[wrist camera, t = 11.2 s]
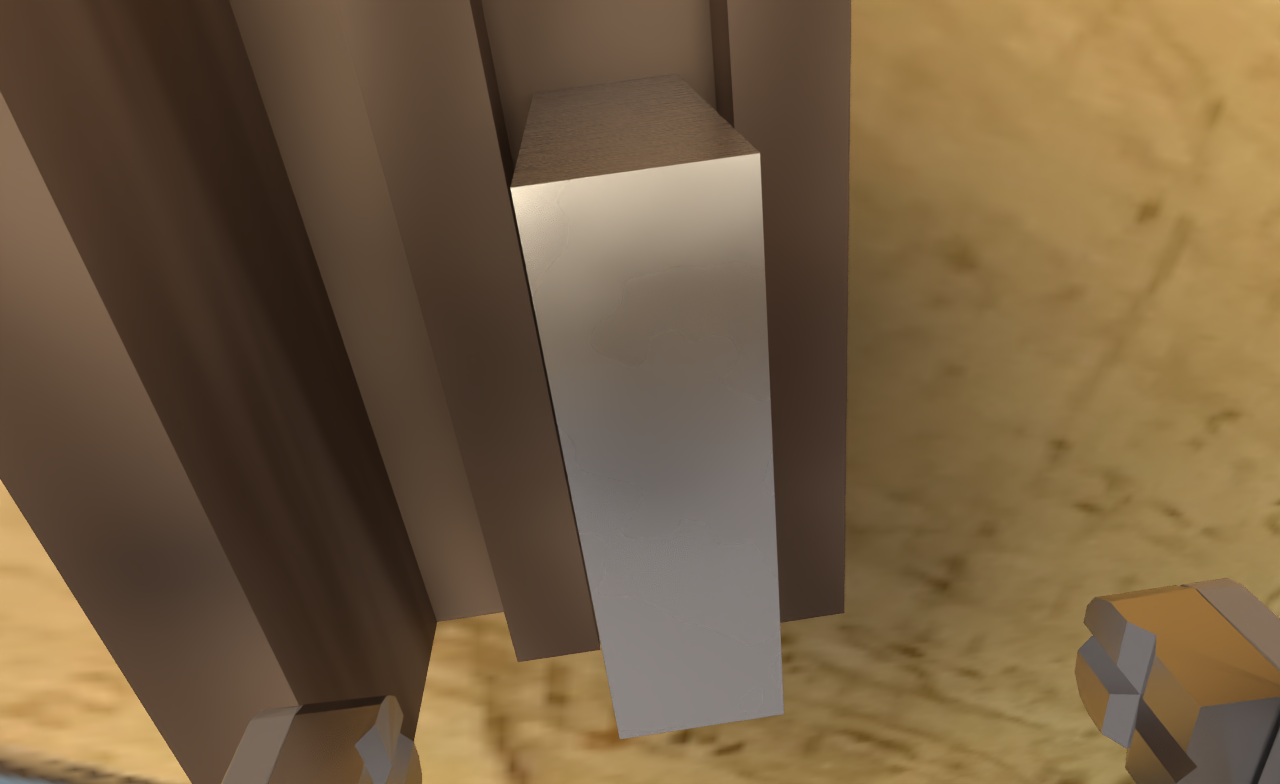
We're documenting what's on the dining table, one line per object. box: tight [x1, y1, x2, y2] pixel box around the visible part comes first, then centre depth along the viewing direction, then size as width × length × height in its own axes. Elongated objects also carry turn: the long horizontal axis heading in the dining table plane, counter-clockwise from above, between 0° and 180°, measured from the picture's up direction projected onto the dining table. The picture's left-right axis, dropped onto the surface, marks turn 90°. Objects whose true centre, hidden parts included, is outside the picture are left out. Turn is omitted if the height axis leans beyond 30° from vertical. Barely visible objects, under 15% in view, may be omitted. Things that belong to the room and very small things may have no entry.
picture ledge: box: [0, 0, 851, 784], centre depth 16 cm, size 14×18×9 cm
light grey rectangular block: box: [510, 73, 784, 739], centre depth 15 cm, size 3×10×8 cm, turn 7°
